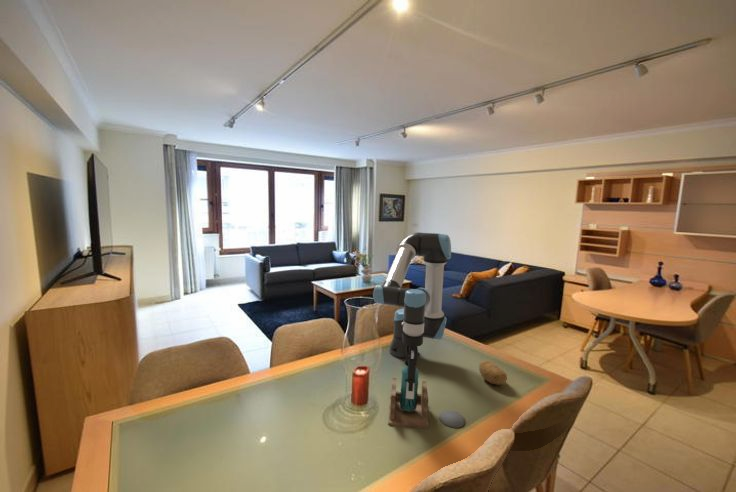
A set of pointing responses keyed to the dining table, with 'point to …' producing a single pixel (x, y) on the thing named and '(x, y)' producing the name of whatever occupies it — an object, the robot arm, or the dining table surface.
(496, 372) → the potato
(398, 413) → the holder
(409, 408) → the beverage bottle
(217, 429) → the dining table surface
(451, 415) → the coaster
